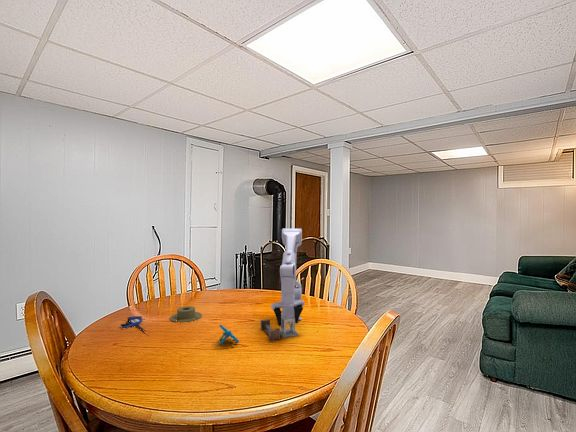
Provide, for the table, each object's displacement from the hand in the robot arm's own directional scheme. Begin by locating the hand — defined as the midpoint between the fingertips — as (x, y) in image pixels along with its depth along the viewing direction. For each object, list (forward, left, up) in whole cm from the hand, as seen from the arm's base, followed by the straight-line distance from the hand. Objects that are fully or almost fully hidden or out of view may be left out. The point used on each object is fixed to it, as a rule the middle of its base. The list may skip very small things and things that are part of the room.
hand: (287, 324), depth 129 cm
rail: (-2, -8, -4) cm, 9 cm away
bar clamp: (-26, -59, -5) cm, 65 cm away
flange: (-37, -40, -5) cm, 54 cm away
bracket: (0, 0, -3) cm, 3 cm away
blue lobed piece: (0, -25, -4) cm, 26 cm away
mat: (0, 0, -4) cm, 4 cm away
